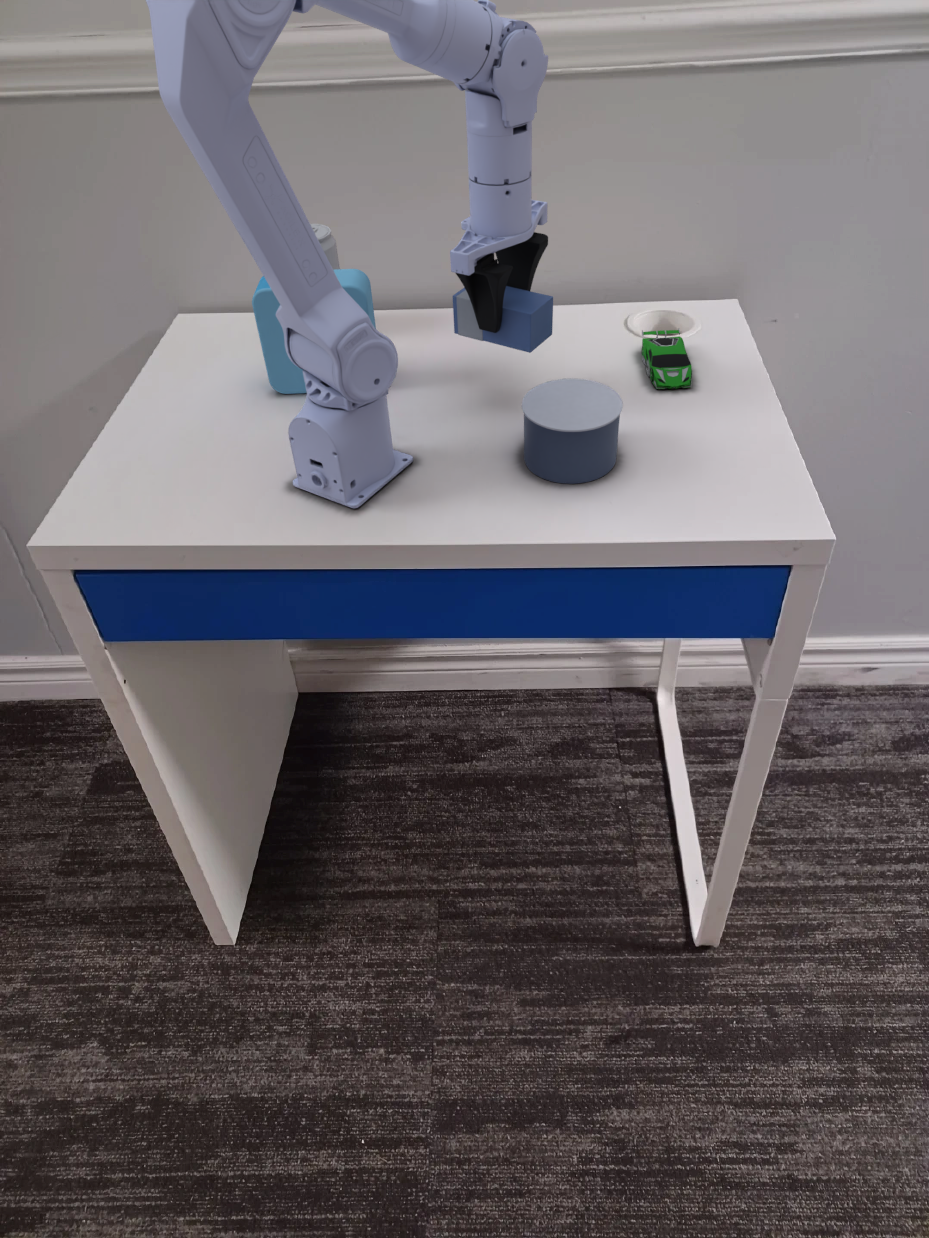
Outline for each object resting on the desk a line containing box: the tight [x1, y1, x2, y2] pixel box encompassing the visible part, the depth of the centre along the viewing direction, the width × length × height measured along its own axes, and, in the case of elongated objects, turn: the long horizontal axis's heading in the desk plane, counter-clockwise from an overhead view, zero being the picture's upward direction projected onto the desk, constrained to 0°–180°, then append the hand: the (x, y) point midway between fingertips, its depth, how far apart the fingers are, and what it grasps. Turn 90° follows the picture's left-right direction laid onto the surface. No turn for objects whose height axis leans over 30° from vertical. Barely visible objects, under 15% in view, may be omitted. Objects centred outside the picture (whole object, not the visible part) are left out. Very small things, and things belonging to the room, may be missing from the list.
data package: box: [251, 268, 377, 395], centre depth 96 cm, size 12×4×12 cm, turn 90°
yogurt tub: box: [521, 377, 624, 485], centre depth 85 cm, size 9×9×6 cm
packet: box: [452, 286, 554, 354], centre depth 89 cm, size 5×9×4 cm, turn 57°
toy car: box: [641, 327, 693, 390], centre depth 98 cm, size 10×5×2 cm, turn 1°
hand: (502, 319), depth 89 cm, fingers closed on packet, 4 cm apart
